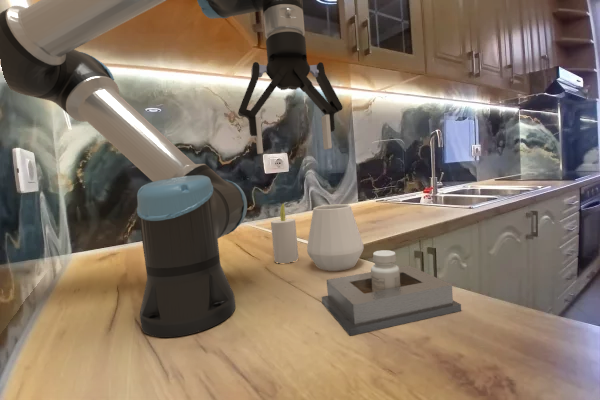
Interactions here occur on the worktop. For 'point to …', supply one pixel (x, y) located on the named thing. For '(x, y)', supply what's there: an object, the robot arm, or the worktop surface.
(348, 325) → the holder
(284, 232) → the candle
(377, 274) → the pill bottle
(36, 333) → the worktop surface
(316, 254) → the white vase
